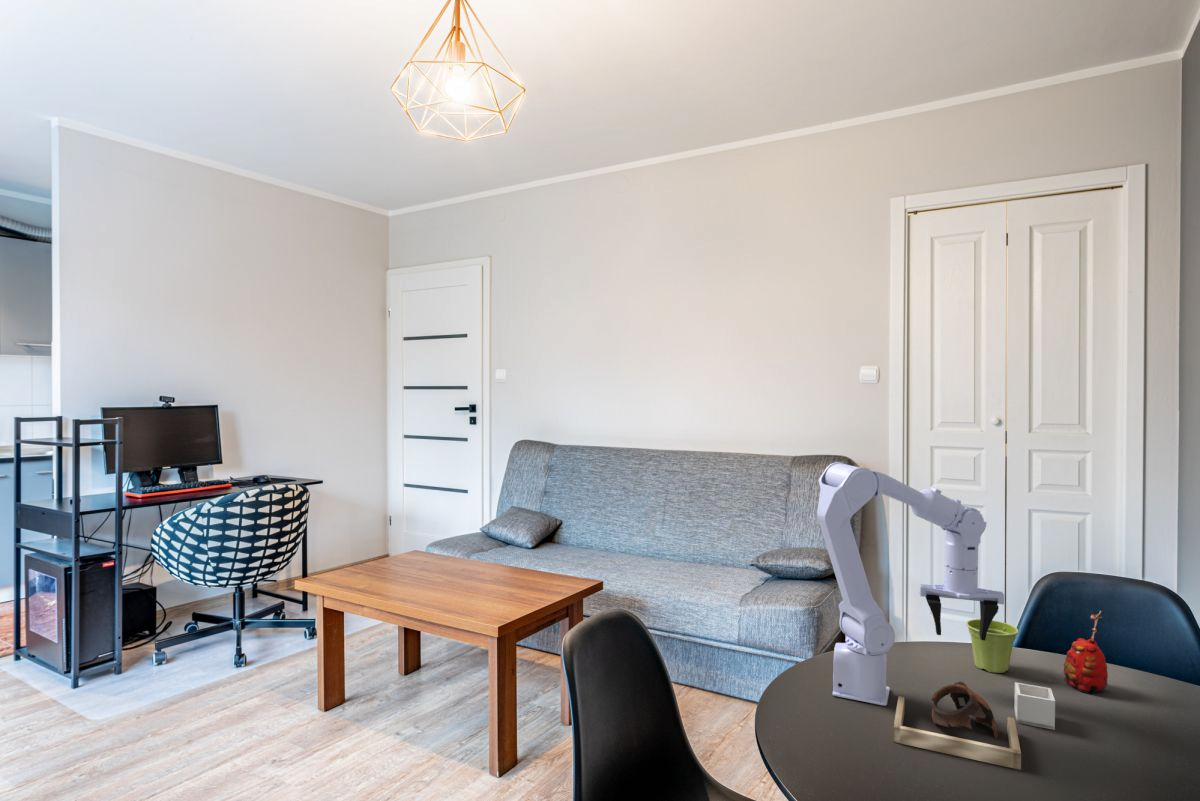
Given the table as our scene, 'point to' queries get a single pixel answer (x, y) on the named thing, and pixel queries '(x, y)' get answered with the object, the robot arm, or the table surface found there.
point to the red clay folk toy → (1086, 664)
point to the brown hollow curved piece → (962, 708)
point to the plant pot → (992, 645)
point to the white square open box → (1034, 706)
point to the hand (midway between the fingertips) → (960, 635)
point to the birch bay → (959, 742)
